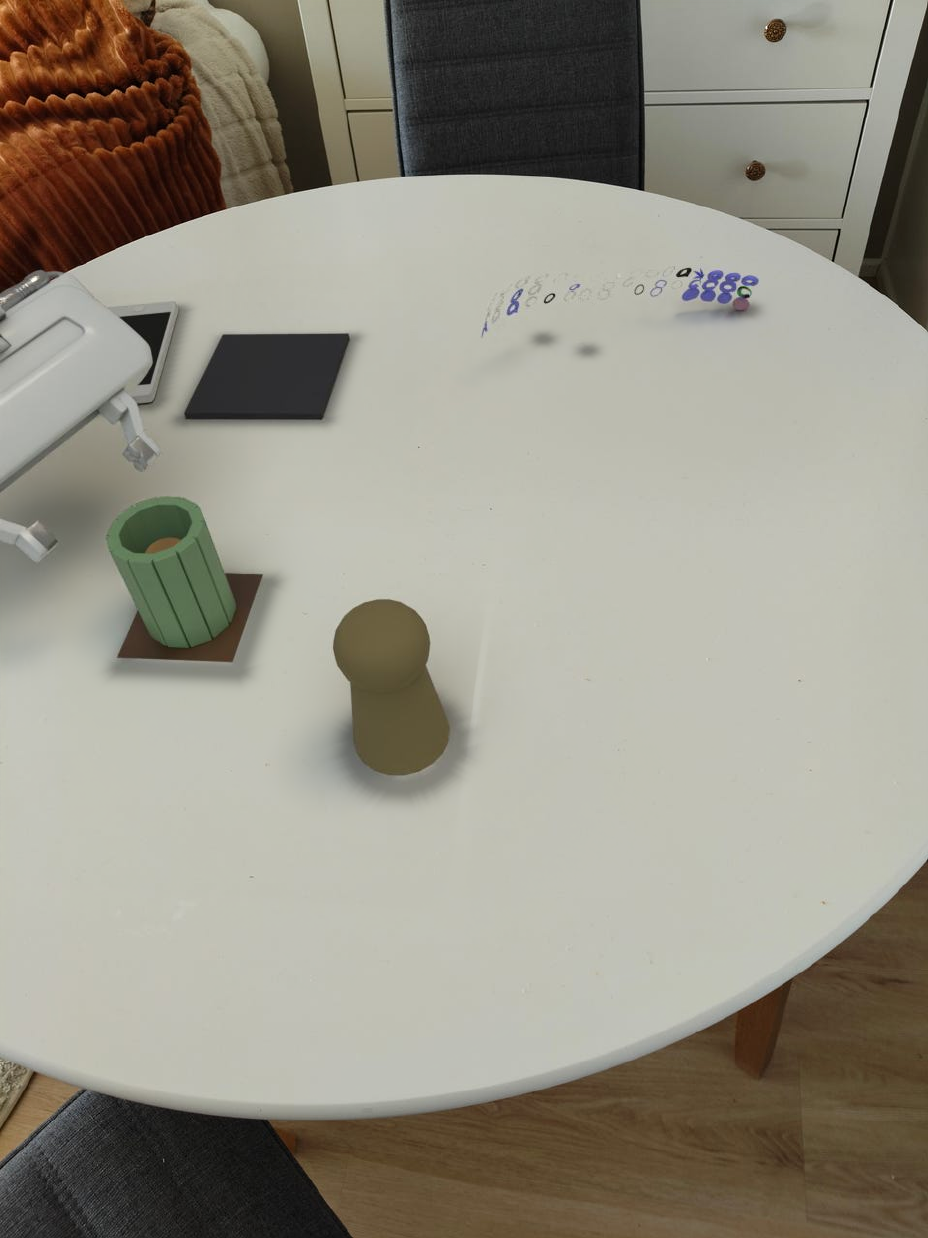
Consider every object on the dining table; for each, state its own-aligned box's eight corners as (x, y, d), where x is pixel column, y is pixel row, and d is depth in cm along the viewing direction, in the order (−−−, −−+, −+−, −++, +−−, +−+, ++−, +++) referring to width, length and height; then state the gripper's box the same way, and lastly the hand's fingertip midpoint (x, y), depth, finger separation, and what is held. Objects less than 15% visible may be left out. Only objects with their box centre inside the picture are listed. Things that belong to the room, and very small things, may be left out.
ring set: (715, 295, 94) (768, 194, 84) (746, 393, 89) (806, 297, 79) (457, 288, 89) (481, 179, 79) (474, 390, 84) (502, 288, 74)
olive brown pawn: (341, 725, 61) (305, 605, 53) (431, 690, 63) (409, 567, 55) (373, 801, 58) (340, 684, 49) (469, 762, 59) (452, 642, 51)
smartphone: (179, 307, 97) (176, 299, 96) (153, 402, 86) (150, 393, 86) (107, 315, 97) (103, 306, 96) (72, 410, 86) (68, 401, 86)
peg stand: (121, 666, 66) (82, 595, 61) (159, 580, 71) (127, 507, 66) (236, 671, 65) (207, 598, 60) (266, 583, 70) (241, 509, 65)
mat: (185, 418, 84) (183, 412, 84) (224, 339, 92) (222, 333, 92) (322, 419, 83) (321, 413, 82) (349, 338, 91) (348, 332, 90)
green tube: (135, 646, 66) (92, 560, 60) (163, 581, 70) (126, 495, 64) (221, 649, 65) (186, 563, 59) (245, 583, 69) (214, 496, 63)
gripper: (45, 282, 68) (193, 433, 72) (-217, 454, 57) (-27, 623, 60) (65, 231, 63) (223, 396, 66) (-217, 409, 52) (-11, 596, 55)
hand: (102, 506), depth 63 cm, fingers open, 8 cm apart
